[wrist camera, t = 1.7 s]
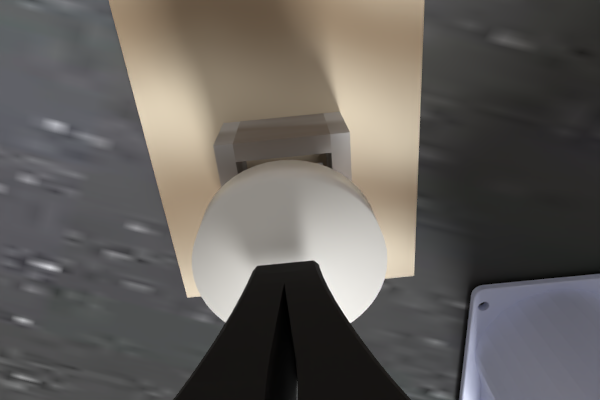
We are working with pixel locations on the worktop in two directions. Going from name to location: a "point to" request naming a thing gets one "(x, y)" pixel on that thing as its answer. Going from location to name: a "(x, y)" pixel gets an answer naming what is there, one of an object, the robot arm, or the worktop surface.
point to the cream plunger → (289, 234)
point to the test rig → (278, 101)
